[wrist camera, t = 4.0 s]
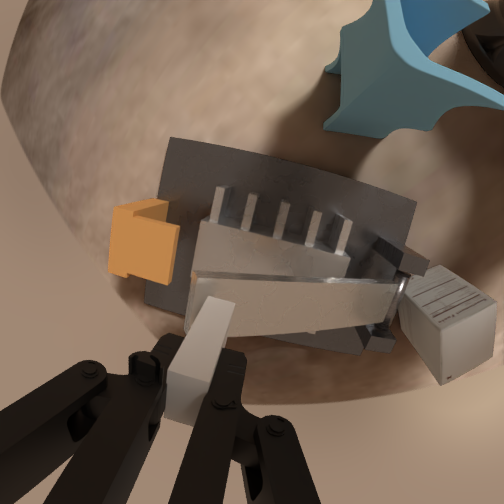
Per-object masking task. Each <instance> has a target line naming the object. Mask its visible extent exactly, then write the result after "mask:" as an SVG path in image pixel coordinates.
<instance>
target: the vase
mask: <svg viewBox="0 0 504 504" xmlns="http://www.w3.org/2000/svg"><path fill="white" fill-rule="evenodd" d="M488 13H490V9H489V6H488V3H486V2H484V1H483V0H373V2H372V5H371V7H370V9H369V10H368V11H367V12H366V14H365V15H364V16H362V17H361V18H359V19H358V20H356V21H354V22H352V23H350V24H348V25H345V26H343V27H342V29H341V31H340V50H339V54H338V57H337V58H336V59H335V61H333V62H332V63H331V64H329V65H327V66H325V72H327V73H334V74H340V75H341V95H340V107H339V109H338V110H337V111H336V112H335V113H334V114H333V115H332V116H331V117H330V118H328V119H327V120H326V121H325V122H324V123H323V130H327V131H334V132H341V133H348V134H354V135H360V136H366V137H372V138H380V139H381V138H385V137H386V136H388V135H389V134H390V133H391V132H392V131H394V130H397V129H400V128H411V129H417V130H423V131H430V130H432V129H433V127H434V125H435V124H436V122H437V121H438V119H439V118H440V117H441V116H442V115H443V114H444V113H445V112H446V111H448V110H450V109H452V108H455V107H461V106H481V107H489V108H494V109H499V110H504V95H503V94H501V93H500V92H498V91H496V90H494V89H492V88H490V87H488V86H486V85H484V84H482V83H480V82H478V81H476V80H474V79H472V78H470V77H468V76H465V75H463V74H461V73H459V72H456V71H454V70H452V69H449V68H447V67H444V66H442V65H439V64H437V63H434V62H432V61H431V60H429V59H428V56H429V55H430V53H431V52H432V51H433V50H434V49H435V48H437V47H438V46H439V45H440V44H441V43H443V42H444V41H445V40H447V39H448V38H449V37H451V36H452V35H454V34H455V33H457V32H458V31H460V30H462V29H463V28H465V27H466V26H468V25H470V24H471V23H473V22H475V21H477V20H478V19H480V18H482V17H484V16H485V15H487V14H488Z"/></svg>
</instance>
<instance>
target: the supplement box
mask: <svg viewBox="0 0 504 504" xmlns="http://www.w3.org/2000/svg"><path fill="white" fill-rule="evenodd" d="M398 312H399V318H400V325H401V330H402V331H403V333H404V334H405V336H406V337H407V338H408V340H409V341H410V343H411V344H412V345H413V347H414V348H415V350H416V351H417V352H418V354H419V355H420V357H421V358H422V360H423V361H424V362H425V364H426V365H427V367H428V368H429V370H430V371H431V373H432V374H433V376H434V377H435V379H436V380H437V382H438V383H439V385H440V386H441V385H444V384H446V383H448V382H450V381H452V380H454V379H456V378H458V377H460V376H461V375H463V374H465V373H467V372H469V371H470V370H472V369H474V368H475V367H477V366H479V365H480V364H482V363H484V362H485V361H487V360H489V359H490V358H491V357H492V356H493V349H494V340H495V329H496V315H497V301H495V300H494V299H492V298H491V297H489V296H488V295H487V294H485V293H484V292H482V291H481V290H479V289H478V288H476V287H475V286H473V285H472V284H470V283H469V282H467V281H466V280H464V279H462V278H461V277H459V276H458V275H456V274H455V273H453V272H451V271H450V270H448V269H447V268H445V267H443V266H442V265H438V266H435V267H433V268H431V269H428V270H426V273H425V276H424V277H422V276H419V275H414V276H411V277H410V280H409V282H408V285H407V287H406V290H405V293H404V295H403V297H402V300H401V302H400V305H399V307H398Z"/></svg>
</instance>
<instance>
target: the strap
mask: <svg viewBox="0 0 504 504" xmlns="http://www.w3.org/2000/svg"><path fill="white" fill-rule="evenodd" d="M410 277H411V274H409V273H408V272H405V271H401V270H398V269H396V272H395V275H394V277H393V280H383V279H353V278H328V277H305V276H284V275H265V274H247V273H231V272H214V271H199V270H193V273H192V279H191V285H190V291H189V297H188V303H187V309H186V316H185V322H184V331H185V334H186V335H187V333H188V332H189V330H190V328H191V326H192V324H193V323H194V321H195V319H196V317H197V315H198V314H199V312H200V310H201V308H202V307H203V305H204V303H205V301H206V299H207V298H208V296H211V297H215V298H218V299H222V300H226V301H230V302H234V303H235V308H234V312H233V316H232V320H231V324H230V329H229V333H228V337H241V336H259V335H274V334H287V333H298V332H309V331H319V330H328V329H336V328H345V327H352V326H360V325H367V324H374V323H375V324H374V325H375V327H376V328H377V329H379V330H381V331H388V330H389V328H390V325H391V323H392V321H393V319H394V316H395V314H396V312H397V310H398V307H399V305H400V302H401V300H402V297H403V295H404V293H405V290H406V287H407V285H408V282H409V280H410Z"/></svg>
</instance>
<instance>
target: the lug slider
mask: <svg viewBox="0 0 504 504" xmlns="http://www.w3.org/2000/svg"><path fill="white" fill-rule="evenodd" d="M168 206H169V202H168V201H163V200H159V199H154V198H152V199H147V200H142V201H138V202H133V203H129V204H124V205H120V206H116V207H114V211H113V219H112V228H111V238H110V250H109V264H108V272H109V273H112V274H115V275H118V276H122V277H125V278H127V277H128V276H130V275H131V274H132V275H135V276H138V277H141V278H144V279H148V280H151V281H154V282H158V283H161V284H164V285H169V283H170V282H171V281H172V275H173V268H174V261H175V255H176V249H177V243H178V237H179V231H180V226H178V225H174V224H170V223H166V217H167V211H168Z"/></svg>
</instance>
